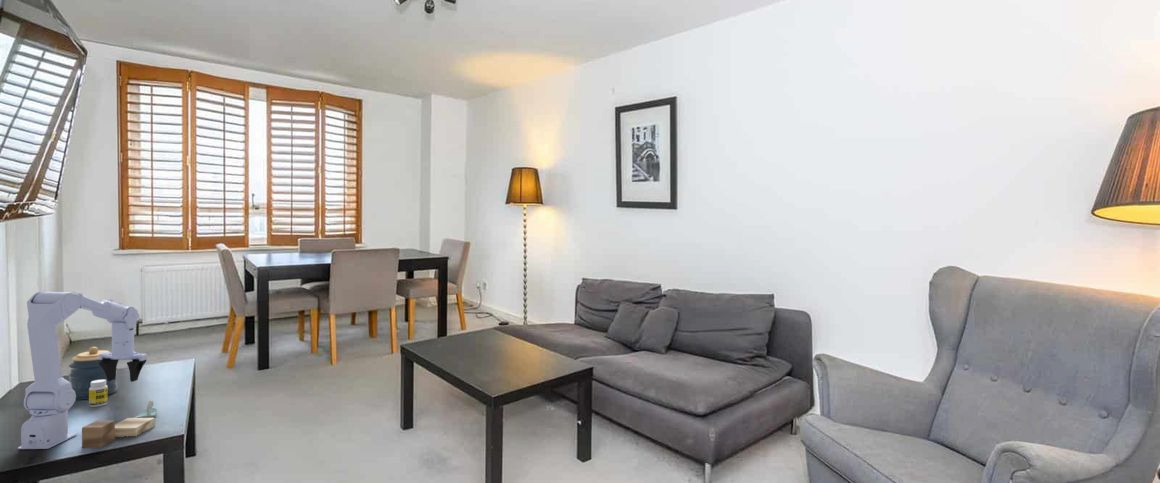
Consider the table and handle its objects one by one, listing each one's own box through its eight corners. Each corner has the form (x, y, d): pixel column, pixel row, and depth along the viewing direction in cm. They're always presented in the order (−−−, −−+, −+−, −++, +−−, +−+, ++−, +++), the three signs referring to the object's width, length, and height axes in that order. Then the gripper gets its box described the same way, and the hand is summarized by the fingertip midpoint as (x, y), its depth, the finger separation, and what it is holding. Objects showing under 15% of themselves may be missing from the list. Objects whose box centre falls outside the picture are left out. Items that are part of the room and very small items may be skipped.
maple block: (135, 437, 155) (135, 428, 155) (107, 438, 154) (107, 428, 154) (154, 427, 163) (154, 417, 163) (127, 427, 162) (127, 418, 162)
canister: (90, 401, 181) (90, 352, 181) (58, 398, 183) (58, 350, 182) (126, 389, 194) (126, 343, 194) (96, 387, 196) (96, 341, 195)
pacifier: (130, 425, 164) (154, 421, 167) (130, 406, 163) (154, 402, 166) (135, 417, 170) (158, 413, 173) (134, 399, 169) (157, 395, 173)
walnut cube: (101, 447, 147) (100, 427, 147) (82, 448, 147) (81, 427, 147) (114, 440, 152) (114, 420, 152) (96, 440, 152) (96, 420, 152)
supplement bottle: (95, 407, 176) (95, 383, 176) (85, 406, 177) (85, 382, 177) (111, 403, 181) (111, 379, 180) (100, 401, 182) (100, 378, 181)
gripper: (154, 339, 179) (153, 377, 179) (111, 338, 178) (111, 376, 179) (137, 344, 172) (136, 383, 172) (93, 342, 171) (93, 382, 172)
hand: (122, 380), depth 175 cm, fingers open, 7 cm apart
